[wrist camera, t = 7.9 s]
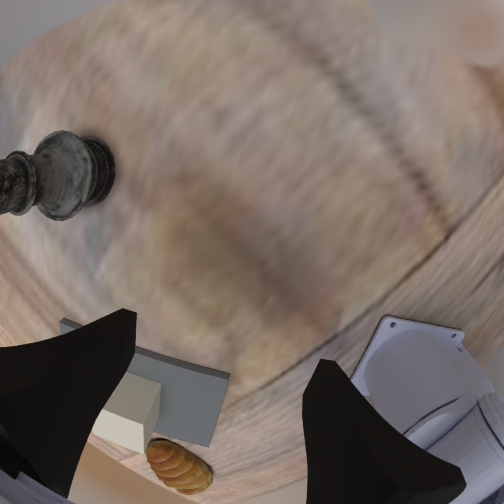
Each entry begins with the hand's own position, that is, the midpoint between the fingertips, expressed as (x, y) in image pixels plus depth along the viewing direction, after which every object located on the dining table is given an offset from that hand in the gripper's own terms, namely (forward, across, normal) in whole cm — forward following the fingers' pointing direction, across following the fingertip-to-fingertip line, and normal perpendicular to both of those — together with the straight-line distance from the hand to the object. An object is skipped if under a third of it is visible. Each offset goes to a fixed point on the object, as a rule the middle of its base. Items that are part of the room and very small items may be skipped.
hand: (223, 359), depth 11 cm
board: (+10, +7, +15) cm, 19 cm away
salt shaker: (+10, +13, -4) cm, 17 cm away
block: (+9, +7, +15) cm, 19 cm away
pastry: (+10, +2, +27) cm, 29 cm away
